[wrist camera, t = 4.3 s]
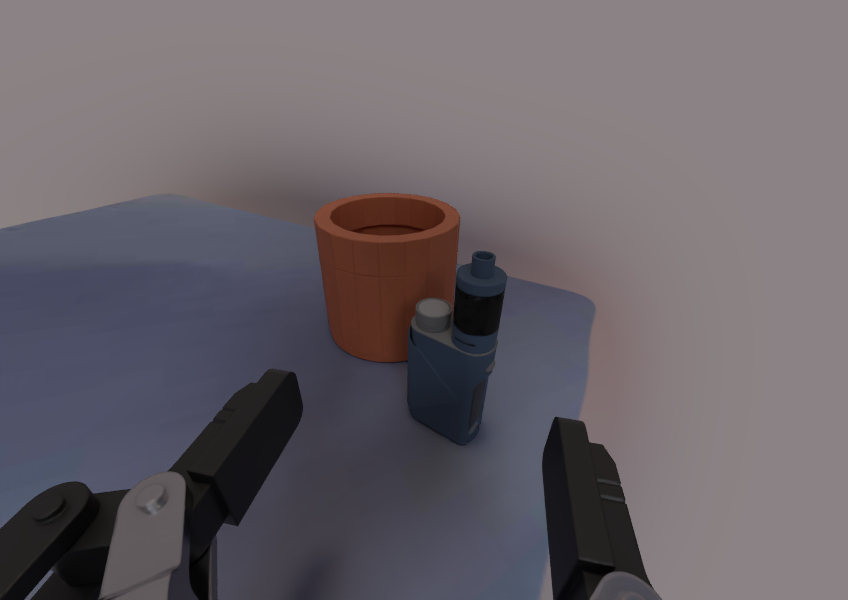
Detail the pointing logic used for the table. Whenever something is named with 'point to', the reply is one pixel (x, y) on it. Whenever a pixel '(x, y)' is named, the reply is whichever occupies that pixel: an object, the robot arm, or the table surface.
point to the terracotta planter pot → (384, 267)
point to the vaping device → (456, 350)
